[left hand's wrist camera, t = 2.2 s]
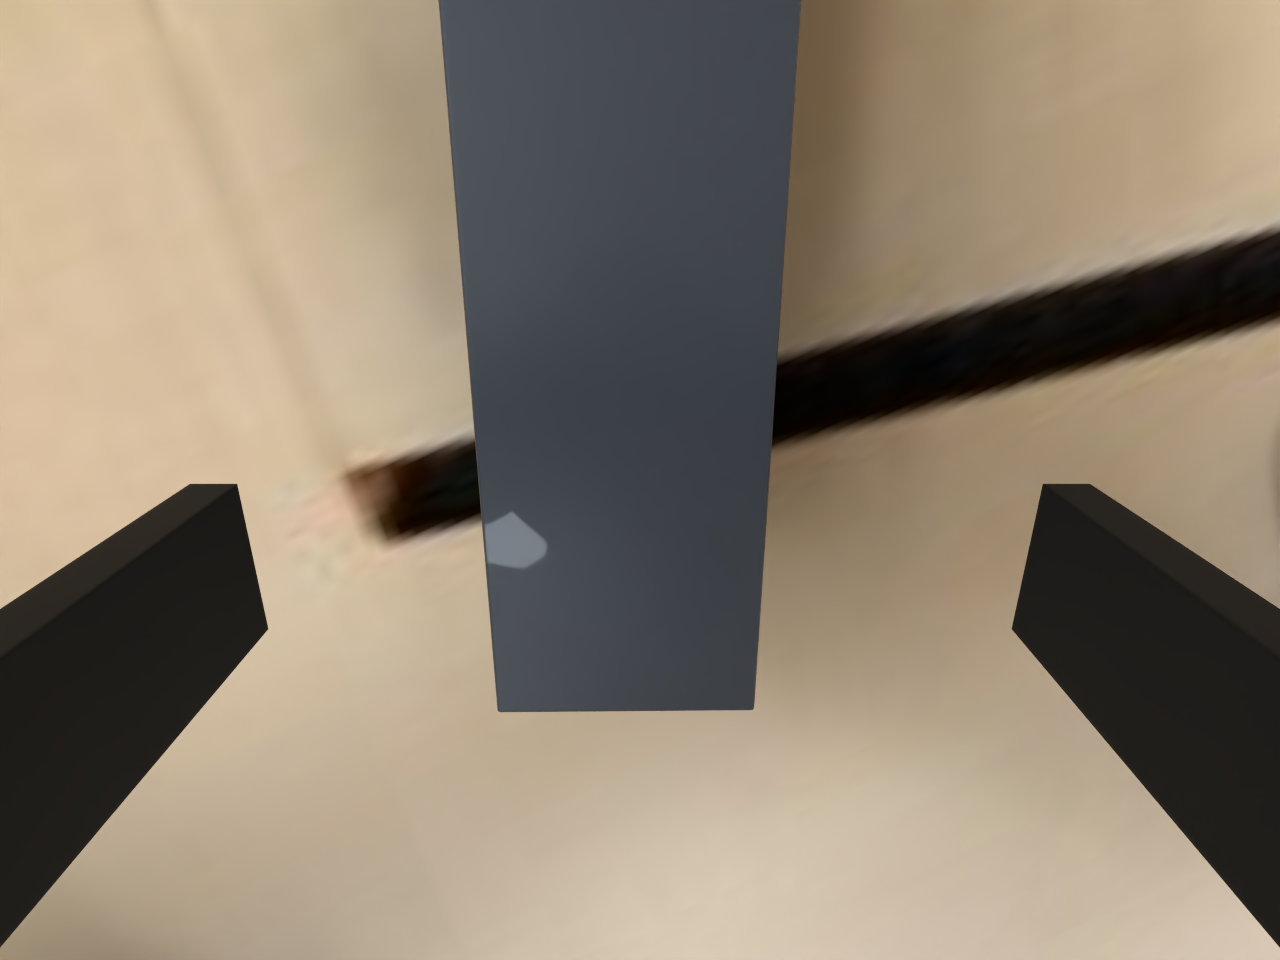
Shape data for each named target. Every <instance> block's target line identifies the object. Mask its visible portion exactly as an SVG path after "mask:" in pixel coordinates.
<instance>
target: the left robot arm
mask: <svg viewBox="0 0 1280 960" xmlns="http://www.w3.org/2000/svg"><path fill="white" fill-rule="evenodd" d="M267 630H268V626H267V621H266V616H265V612H264V607H263V602H262V598H261V593H260V589H259V584H258V579H257V575H256V570H255V565H254V561H253V556H252V551H251V547H250V542H249V537H248V533H247V528H246V523H245V519H244V514H243V510H242V505H241V500H240V496H239V491H238V486H237V484H189V485H188V486H186V487H185V488H183V489H182V490H180V491H179V492H177V493H176V494H174V495H173V496H171V497H170V498H168V499H167V500H165V501H163V502H162V503H160V504H159V505H157V506H156V507H154V508H153V509H151V510H150V511H148V512H147V513H145V514H144V515H142V516H141V517H139V518H138V519H136V520H135V521H133V522H132V523H130V524H129V525H127V526H126V527H124V528H123V529H121V530H119V531H118V532H116V533H115V534H113V535H112V536H110V537H109V538H107V539H106V540H104V541H103V542H101V543H100V544H98V545H97V546H95V547H94V548H92V549H91V550H89V551H88V552H86V553H85V554H83V555H82V556H80V557H79V558H77V559H75V560H74V561H72V562H71V563H69V564H68V565H66V566H65V567H63V568H62V569H60V570H59V571H57V572H56V573H54V574H53V575H51V576H50V577H48V578H47V579H45V580H44V581H42V582H41V583H39V584H38V585H36V586H35V587H33V588H32V589H30V590H28V591H27V592H25V593H24V594H22V595H21V596H19V597H18V598H16V599H15V600H13V601H12V602H10V603H9V604H7V605H6V606H4V607H3V608H1V609H0V947H1V946H2V945H3V943H4V942H5V941H6V940H7V939H8V937H9V936H10V935H11V934H12V933H13V932H14V930H15V929H16V928H17V927H18V926H19V924H20V923H21V922H22V921H23V920H24V918H25V917H26V916H27V915H28V914H29V913H30V911H31V910H32V909H33V908H34V907H35V905H36V904H37V903H38V902H39V901H40V899H41V898H42V897H43V896H44V895H45V894H46V892H47V891H48V890H49V889H50V888H51V886H52V885H53V884H54V883H55V882H56V880H57V879H58V878H59V877H60V876H61V875H62V873H63V872H64V871H65V870H66V869H67V867H68V866H69V865H70V864H71V863H72V861H73V860H74V859H75V858H76V857H77V856H78V854H79V853H80V852H81V851H82V850H83V848H84V847H85V846H86V845H87V844H88V842H89V841H90V840H91V839H92V838H93V837H94V835H95V834H96V833H97V832H98V831H99V829H100V828H101V827H102V826H103V825H104V823H105V822H106V821H107V820H108V819H109V818H110V816H111V815H112V814H113V813H114V812H115V810H116V809H117V808H118V807H119V806H120V804H121V803H122V802H123V801H124V800H125V799H126V797H127V796H128V795H129V794H130V793H131V791H132V790H133V789H134V788H135V787H136V785H137V784H138V783H139V782H140V781H141V780H142V778H143V777H144V776H145V775H146V774H147V772H148V771H149V770H150V769H151V768H152V766H153V765H154V764H155V763H156V762H157V761H158V759H159V758H160V757H161V756H162V755H163V753H164V752H165V751H166V750H167V749H168V747H169V746H170V745H171V744H172V743H173V742H174V740H175V739H176V738H177V737H178V736H179V734H180V733H181V732H182V731H183V730H184V728H185V727H186V726H187V725H188V724H189V722H190V721H191V720H192V719H193V718H194V717H195V715H196V714H197V713H198V712H199V711H200V709H201V708H202V707H203V706H204V705H205V703H206V702H207V701H208V700H209V699H210V698H211V696H212V695H213V694H214V693H215V692H216V690H217V689H218V688H219V687H220V686H221V684H222V683H223V682H224V681H225V680H226V679H227V677H228V676H229V675H230V674H231V673H232V671H233V670H234V669H235V668H236V667H237V665H238V664H239V663H240V662H241V661H242V660H243V658H244V657H245V656H246V655H247V654H248V652H249V651H250V650H251V649H252V648H253V646H254V645H255V644H256V643H257V642H258V641H259V639H260V638H261V637H262V636H263V635H264V633H265V632H266V631H267ZM1012 630H1013V631H1014V632H1015V633H1016V635H1017V636H1018V637H1019V638H1020V639H1021V641H1022V642H1023V643H1024V644H1025V645H1026V646H1027V648H1028V649H1029V650H1030V651H1031V652H1032V654H1033V655H1034V656H1035V657H1036V658H1037V660H1038V661H1039V662H1040V663H1041V664H1042V665H1043V667H1044V668H1045V669H1046V670H1047V671H1048V673H1049V674H1050V675H1051V676H1052V677H1053V679H1054V680H1055V681H1056V682H1057V683H1058V684H1059V686H1060V687H1061V688H1062V689H1063V690H1064V692H1065V693H1066V694H1067V695H1068V696H1069V698H1070V699H1071V700H1072V701H1073V702H1074V703H1075V705H1076V706H1077V707H1078V708H1079V709H1080V711H1081V712H1082V713H1083V714H1084V715H1085V717H1086V718H1087V719H1088V720H1089V721H1090V722H1091V724H1092V725H1093V726H1094V727H1095V728H1096V730H1097V731H1098V732H1099V733H1100V734H1101V736H1102V737H1103V738H1104V739H1105V740H1106V742H1107V743H1108V744H1109V745H1110V746H1111V747H1112V749H1113V750H1114V751H1115V752H1116V753H1117V755H1118V756H1119V757H1120V758H1121V759H1122V761H1123V762H1124V763H1125V764H1126V765H1127V766H1128V768H1129V769H1130V770H1131V771H1132V772H1133V774H1134V775H1135V776H1136V777H1137V778H1138V780H1139V781H1140V782H1141V783H1142V784H1143V785H1144V787H1145V788H1146V789H1147V790H1148V791H1149V793H1150V794H1151V795H1152V796H1153V797H1154V799H1155V800H1156V801H1157V802H1158V803H1159V804H1160V806H1161V807H1162V808H1163V809H1164V810H1165V812H1166V813H1167V814H1168V815H1169V816H1170V818H1171V819H1172V820H1173V821H1174V822H1175V823H1176V825H1177V826H1178V827H1179V828H1180V829H1181V831H1182V832H1183V833H1184V834H1185V835H1186V837H1187V838H1188V839H1189V840H1190V841H1191V842H1192V844H1193V845H1194V846H1195V847H1196V848H1197V850H1198V851H1199V852H1200V853H1201V854H1202V856H1203V857H1204V858H1205V859H1206V860H1207V861H1208V863H1209V864H1210V865H1211V866H1212V867H1213V869H1214V870H1215V871H1216V872H1217V873H1218V875H1219V876H1220V877H1221V878H1222V879H1223V880H1224V882H1225V883H1226V884H1227V885H1228V886H1229V888H1230V889H1231V890H1232V891H1233V892H1234V894H1235V895H1236V896H1237V897H1238V898H1239V899H1240V901H1241V902H1242V903H1243V904H1244V905H1245V907H1246V908H1247V909H1248V910H1249V911H1250V913H1251V914H1252V915H1253V916H1254V917H1255V918H1256V920H1257V921H1258V922H1259V923H1260V924H1261V926H1262V927H1263V928H1264V929H1265V930H1266V932H1267V933H1268V934H1269V935H1270V936H1271V937H1272V939H1273V940H1274V941H1275V942H1276V943H1277V945H1278V946H1279V947H1280V609H1279V608H1277V607H1276V606H1274V605H1273V604H1271V603H1270V602H1268V601H1267V600H1265V599H1264V598H1262V597H1261V596H1259V595H1258V594H1256V593H1255V592H1253V591H1252V590H1250V589H1248V588H1247V587H1245V586H1244V585H1242V584H1241V583H1239V582H1238V581H1236V580H1235V579H1233V578H1232V577H1230V576H1229V575H1227V574H1226V573H1224V572H1223V571H1221V570H1220V569H1218V568H1217V567H1215V566H1214V565H1212V564H1211V563H1209V562H1208V561H1206V560H1205V559H1203V558H1201V557H1200V556H1198V555H1197V554H1195V553H1194V552H1192V551H1191V550H1189V549H1188V548H1186V547H1185V546H1183V545H1182V544H1180V543H1179V542H1177V541H1176V540H1174V539H1173V538H1171V537H1170V536H1168V535H1167V534H1165V533H1164V532H1162V531H1161V530H1159V529H1157V528H1156V527H1154V526H1153V525H1151V524H1150V523H1148V522H1147V521H1145V520H1144V519H1142V518H1141V517H1139V516H1138V515H1136V514H1135V513H1133V512H1132V511H1130V510H1129V509H1127V508H1126V507H1124V506H1123V505H1121V504H1120V503H1118V502H1117V501H1115V500H1113V499H1112V498H1110V497H1109V496H1107V495H1106V494H1104V493H1103V492H1101V491H1100V490H1098V489H1097V488H1095V487H1094V486H1092V485H1091V484H1043V486H1042V491H1041V496H1040V500H1039V505H1038V510H1037V514H1036V519H1035V523H1034V528H1033V533H1032V537H1031V542H1030V547H1029V551H1028V556H1027V561H1026V565H1025V570H1024V575H1023V579H1022V584H1021V589H1020V593H1019V598H1018V602H1017V607H1016V612H1015V616H1014V621H1013V626H1012Z"/></svg>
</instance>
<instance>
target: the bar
mask: <svg viewBox="0 0 1280 960" xmlns="http://www.w3.org/2000/svg"><path fill="white" fill-rule="evenodd" d="M800 7H801V0H439V10H440V22H441V34H442V46H443V58H444V70H445V82H446V94H447V106H448V118H449V130H450V142H451V154H452V166H453V178H454V190H455V202H456V214H457V226H458V239H459V251H460V263H461V275H462V287H463V299H464V311H465V323H466V335H467V347H468V359H469V371H470V383H471V395H472V407H473V419H474V431H475V443H476V455H477V467H478V479H479V491H480V503H481V515H482V527H483V539H484V551H485V563H486V575H487V587H488V599H489V612H490V624H491V636H492V648H493V660H494V672H495V684H496V696H497V708H498V711H499V712H562V711H685V710H753V708H754V700H755V685H756V670H757V655H758V640H759V625H760V610H761V595H762V580H763V565H764V550H765V535H766V520H767V505H768V489H769V474H770V459H771V444H772V429H773V414H774V399H775V384H776V369H777V354H778V339H779V324H780V309H781V294H782V279H783V263H784V248H785V233H786V218H787V203H788V188H789V173H790V158H791V143H792V128H793V113H794V98H795V83H796V68H797V53H798V37H799V22H800Z"/></svg>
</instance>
